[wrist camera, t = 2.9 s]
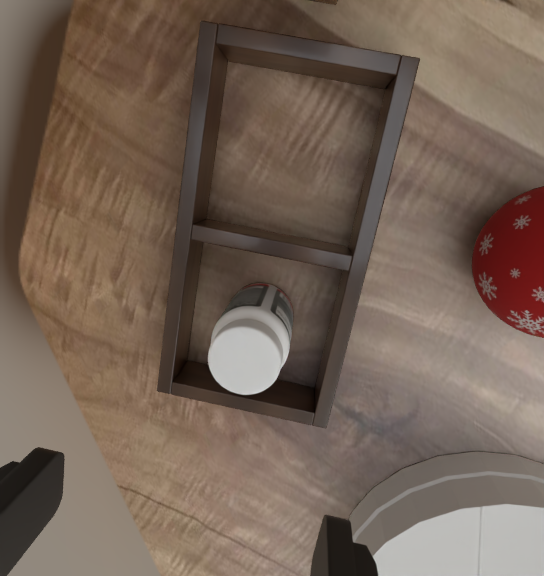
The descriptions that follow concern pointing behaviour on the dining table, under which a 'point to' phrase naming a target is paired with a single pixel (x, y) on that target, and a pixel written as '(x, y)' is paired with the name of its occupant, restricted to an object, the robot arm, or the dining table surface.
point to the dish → (456, 517)
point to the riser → (327, 1)
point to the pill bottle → (251, 339)
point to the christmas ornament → (513, 262)
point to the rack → (197, 229)
